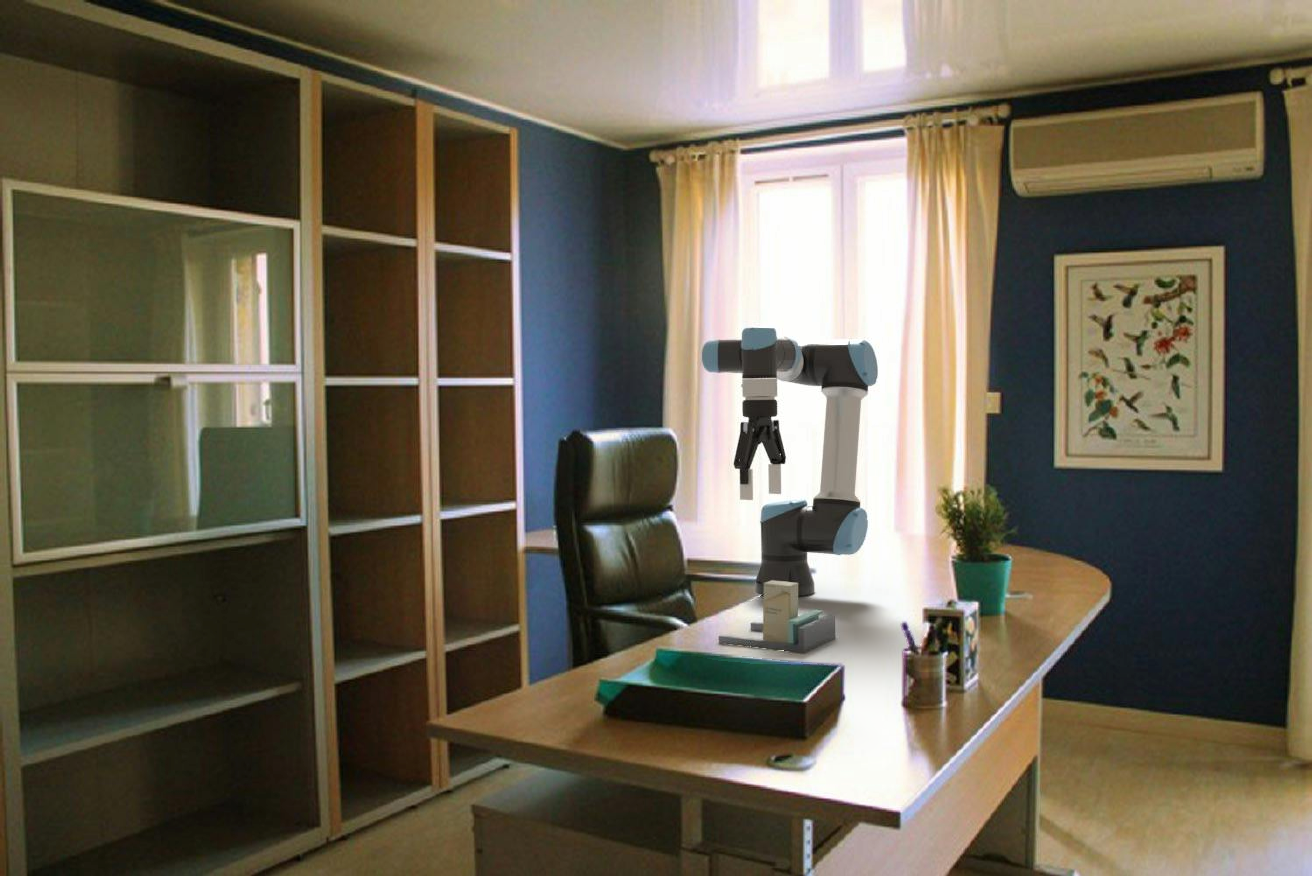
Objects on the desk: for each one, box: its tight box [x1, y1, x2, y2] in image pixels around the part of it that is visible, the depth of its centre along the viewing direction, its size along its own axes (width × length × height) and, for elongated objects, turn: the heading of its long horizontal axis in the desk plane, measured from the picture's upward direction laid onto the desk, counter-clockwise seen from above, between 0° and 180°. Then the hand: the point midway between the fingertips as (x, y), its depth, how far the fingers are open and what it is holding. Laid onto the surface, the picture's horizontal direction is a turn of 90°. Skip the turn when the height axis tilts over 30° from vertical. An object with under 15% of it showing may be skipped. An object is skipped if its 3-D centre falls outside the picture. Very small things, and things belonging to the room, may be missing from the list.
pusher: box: [787, 609, 824, 644], centre depth 229 cm, size 12×4×6 cm, turn 148°
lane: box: [718, 613, 837, 655], centre depth 233 cm, size 15×19×5 cm
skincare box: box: [762, 580, 799, 643], centre depth 232 cm, size 6×4×12 cm
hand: (761, 496), depth 244 cm, fingers open, 13 cm apart
